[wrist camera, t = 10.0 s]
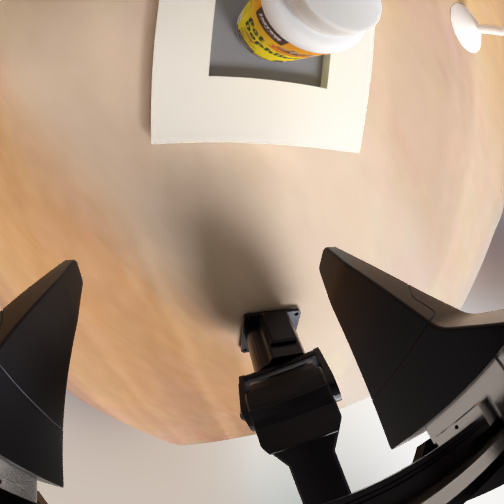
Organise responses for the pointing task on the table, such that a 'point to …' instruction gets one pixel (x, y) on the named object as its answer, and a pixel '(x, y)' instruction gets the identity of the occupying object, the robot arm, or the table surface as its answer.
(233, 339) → the table surface
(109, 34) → the table surface
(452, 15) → the champagne flute
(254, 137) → the socket plate
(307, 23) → the supplement bottle
